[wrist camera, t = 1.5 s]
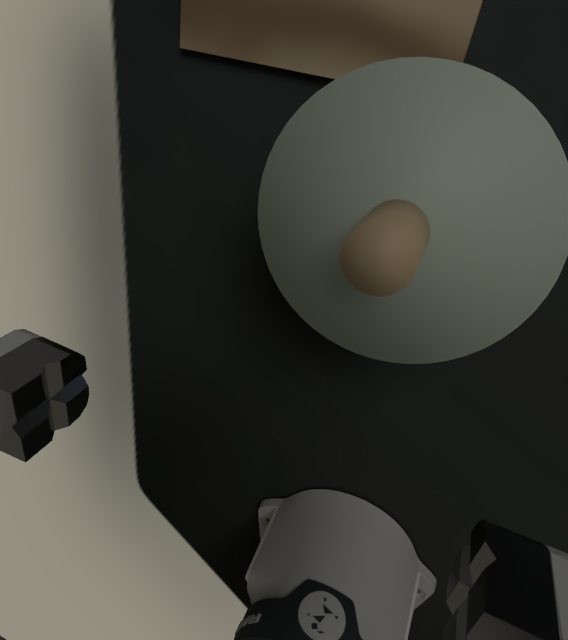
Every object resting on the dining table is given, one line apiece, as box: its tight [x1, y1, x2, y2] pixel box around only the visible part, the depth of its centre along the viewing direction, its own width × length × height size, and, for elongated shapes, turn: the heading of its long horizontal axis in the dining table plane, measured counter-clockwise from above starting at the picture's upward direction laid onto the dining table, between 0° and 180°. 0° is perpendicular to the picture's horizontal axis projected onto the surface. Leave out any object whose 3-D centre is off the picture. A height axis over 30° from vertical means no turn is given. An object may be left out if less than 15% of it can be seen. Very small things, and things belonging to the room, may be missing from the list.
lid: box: [258, 57, 568, 364], centre depth 20 cm, size 14×14×5 cm
